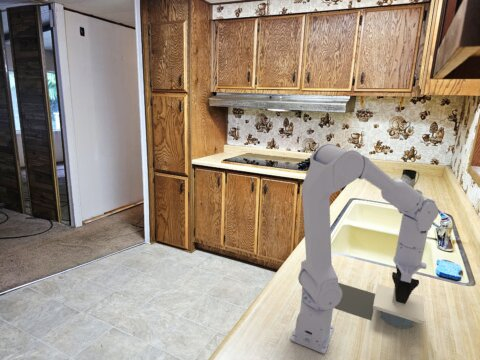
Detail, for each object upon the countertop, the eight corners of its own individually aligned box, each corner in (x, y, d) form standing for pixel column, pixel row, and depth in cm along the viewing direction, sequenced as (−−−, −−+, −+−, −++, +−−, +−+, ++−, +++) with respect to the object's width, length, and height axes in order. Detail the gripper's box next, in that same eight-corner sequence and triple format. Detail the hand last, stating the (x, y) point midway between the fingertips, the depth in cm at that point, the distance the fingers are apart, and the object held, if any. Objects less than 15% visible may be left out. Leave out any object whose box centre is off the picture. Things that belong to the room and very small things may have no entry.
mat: (371, 321, 79) (371, 320, 79) (319, 304, 85) (319, 303, 85) (376, 295, 90) (376, 294, 90) (330, 281, 96) (330, 280, 96)
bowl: (412, 333, 76) (415, 317, 75) (379, 322, 79) (381, 306, 78) (412, 316, 82) (415, 300, 81) (381, 306, 85) (384, 291, 84)
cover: (424, 324, 72) (428, 306, 71) (372, 308, 77) (375, 291, 76) (422, 299, 82) (426, 282, 81) (376, 286, 87) (379, 270, 86)
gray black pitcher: (394, 192, 199) (398, 169, 196) (409, 190, 206) (413, 168, 202) (407, 196, 192) (411, 172, 188) (422, 194, 198) (426, 171, 194)
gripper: (431, 261, 67) (419, 315, 71) (428, 237, 80) (418, 284, 83) (395, 252, 71) (385, 305, 74) (398, 230, 83) (389, 276, 86)
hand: (401, 293), depth 79 cm, fingers open, 7 cm apart
